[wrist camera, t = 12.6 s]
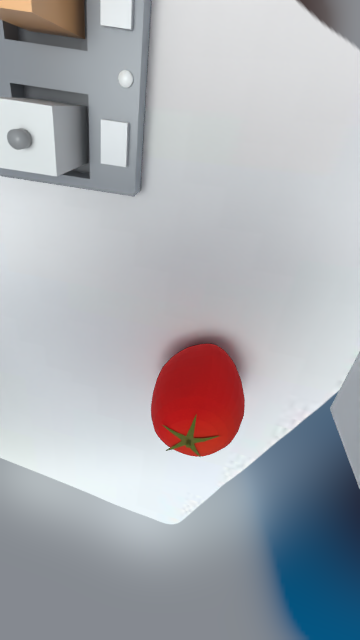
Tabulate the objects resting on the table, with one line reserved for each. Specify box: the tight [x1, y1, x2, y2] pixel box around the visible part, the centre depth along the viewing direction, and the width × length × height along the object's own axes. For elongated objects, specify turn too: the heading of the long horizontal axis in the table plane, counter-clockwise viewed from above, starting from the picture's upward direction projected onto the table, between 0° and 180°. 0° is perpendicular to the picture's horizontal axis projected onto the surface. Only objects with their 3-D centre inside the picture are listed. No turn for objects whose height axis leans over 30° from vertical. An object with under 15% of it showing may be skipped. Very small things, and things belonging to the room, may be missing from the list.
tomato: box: [151, 344, 244, 457], centre depth 42 cm, size 13×11×14 cm
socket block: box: [0, 0, 151, 196], centre depth 30 cm, size 16×19×4 cm
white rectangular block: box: [0, 97, 88, 176], centre depth 30 cm, size 5×5×9 cm
